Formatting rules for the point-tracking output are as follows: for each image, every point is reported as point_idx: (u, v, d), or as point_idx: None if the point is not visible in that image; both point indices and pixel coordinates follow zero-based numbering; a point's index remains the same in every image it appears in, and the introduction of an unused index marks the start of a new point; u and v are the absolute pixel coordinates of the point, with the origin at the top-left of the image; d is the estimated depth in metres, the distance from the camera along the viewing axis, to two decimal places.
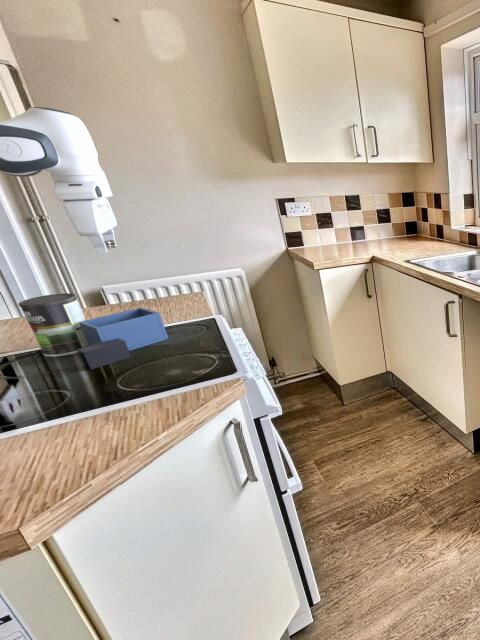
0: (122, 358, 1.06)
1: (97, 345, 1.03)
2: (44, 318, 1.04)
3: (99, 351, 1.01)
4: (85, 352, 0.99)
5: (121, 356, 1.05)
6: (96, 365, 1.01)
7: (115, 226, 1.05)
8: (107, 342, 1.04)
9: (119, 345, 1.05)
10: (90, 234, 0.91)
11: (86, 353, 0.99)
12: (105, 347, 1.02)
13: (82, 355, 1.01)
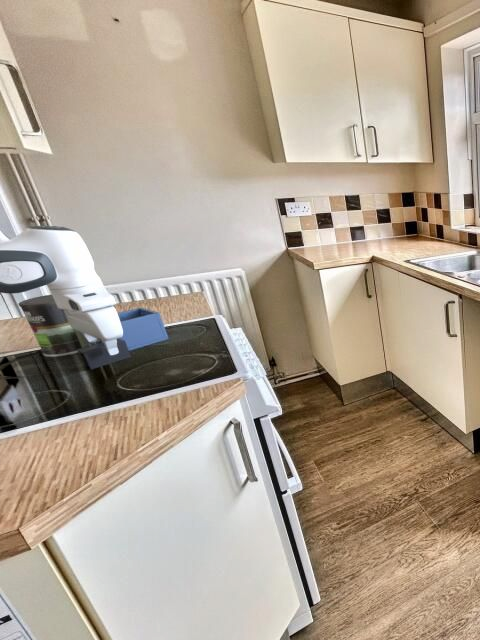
0: (122, 358, 1.06)
1: (97, 345, 1.03)
2: (44, 318, 1.04)
3: (99, 351, 1.01)
4: (85, 352, 0.99)
5: (121, 356, 1.05)
6: (96, 365, 1.01)
7: None
8: None
9: (119, 345, 1.05)
10: (115, 338, 0.97)
11: (86, 353, 0.99)
12: (105, 347, 1.02)
13: (82, 355, 1.01)
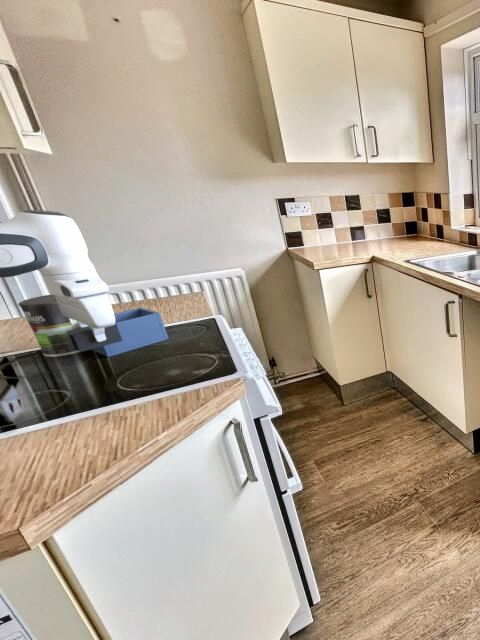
0: (113, 341, 1.04)
1: (87, 327, 1.01)
2: (44, 318, 1.04)
3: (89, 333, 1.00)
4: (75, 334, 0.97)
5: (112, 339, 1.03)
6: (86, 348, 0.99)
7: None
8: None
9: (110, 328, 1.03)
10: (107, 325, 0.96)
11: (76, 335, 0.97)
12: None
13: (72, 337, 0.99)
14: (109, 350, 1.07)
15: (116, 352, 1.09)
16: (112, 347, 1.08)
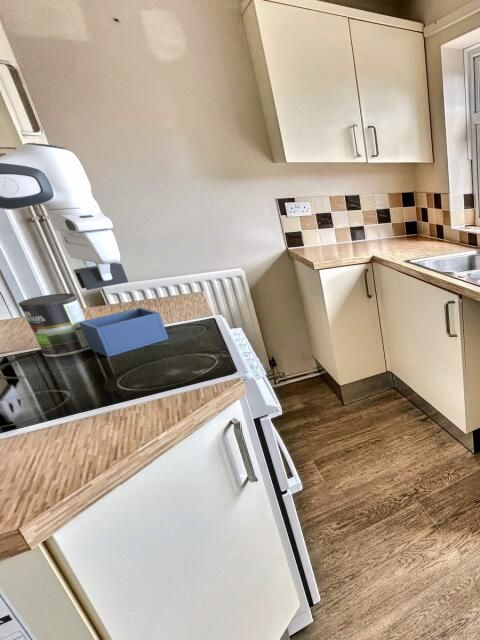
0: (119, 282, 1.05)
1: (93, 266, 1.02)
2: (44, 318, 1.04)
3: (95, 272, 1.00)
4: (81, 271, 0.98)
5: (118, 280, 1.04)
6: (93, 286, 1.00)
7: None
8: None
9: (116, 269, 1.04)
10: (112, 262, 0.97)
11: (82, 272, 0.98)
12: None
13: (78, 276, 1.00)
14: (109, 350, 1.07)
15: (116, 352, 1.09)
16: (112, 347, 1.08)
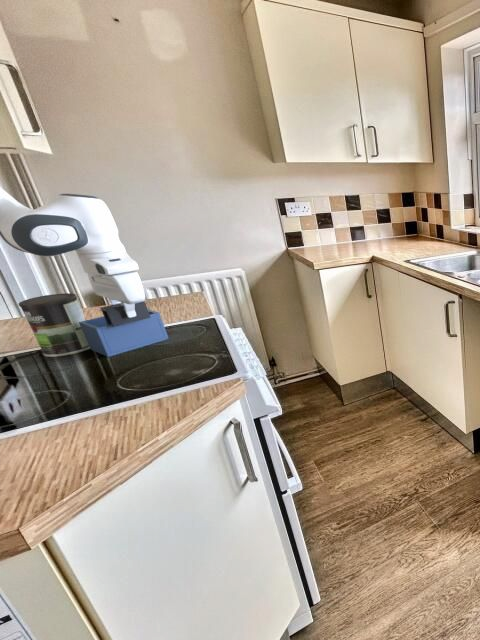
0: (142, 318, 1.11)
1: (118, 304, 1.08)
2: (44, 318, 1.04)
3: (121, 310, 1.07)
4: (108, 310, 1.05)
5: (141, 316, 1.11)
6: (118, 323, 1.07)
7: None
8: None
9: (140, 305, 1.10)
10: (138, 301, 1.03)
11: (109, 311, 1.05)
12: None
13: (105, 313, 1.07)
14: (109, 350, 1.07)
15: (116, 352, 1.09)
16: (112, 347, 1.08)
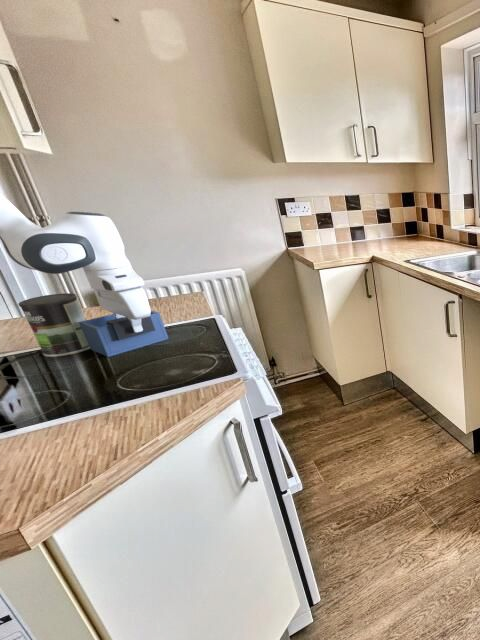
0: (147, 331, 1.12)
1: (124, 318, 1.10)
2: (44, 318, 1.04)
3: (126, 323, 1.08)
4: (114, 324, 1.06)
5: (146, 329, 1.12)
6: (124, 337, 1.08)
7: None
8: None
9: (145, 319, 1.12)
10: (143, 317, 1.05)
11: (115, 324, 1.06)
12: None
13: None
14: (109, 350, 1.07)
15: (116, 352, 1.09)
16: (112, 347, 1.08)
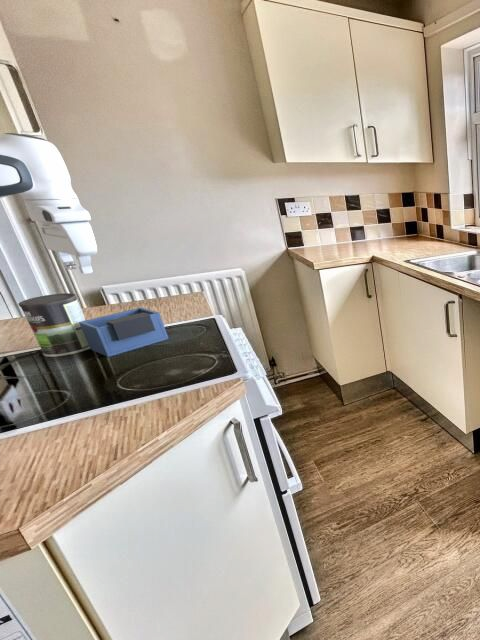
0: (147, 331, 1.12)
1: (124, 318, 1.10)
2: (44, 318, 1.04)
3: (126, 323, 1.08)
4: (114, 324, 1.06)
5: (146, 329, 1.12)
6: (124, 337, 1.08)
7: None
8: (133, 315, 1.11)
9: (145, 319, 1.12)
10: (89, 254, 0.96)
11: (115, 324, 1.06)
12: (132, 320, 1.09)
13: None
14: (109, 350, 1.07)
15: (116, 352, 1.09)
16: (112, 347, 1.08)
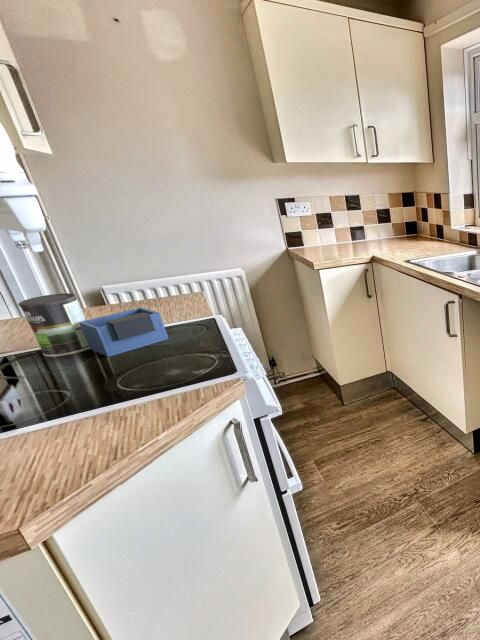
0: (147, 331, 1.12)
1: (124, 318, 1.10)
2: (44, 318, 1.04)
3: (126, 323, 1.08)
4: (114, 324, 1.06)
5: (146, 329, 1.12)
6: (124, 337, 1.08)
7: None
8: (133, 315, 1.11)
9: (145, 319, 1.12)
10: (36, 230, 0.92)
11: (115, 324, 1.06)
12: (132, 320, 1.09)
13: None
14: (109, 350, 1.07)
15: (116, 352, 1.09)
16: (112, 347, 1.08)
